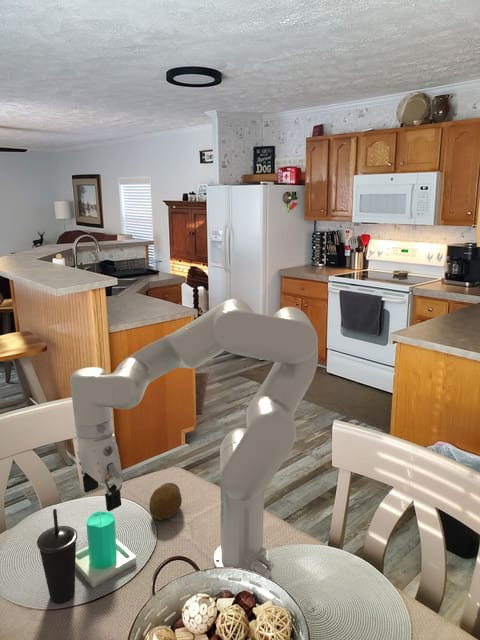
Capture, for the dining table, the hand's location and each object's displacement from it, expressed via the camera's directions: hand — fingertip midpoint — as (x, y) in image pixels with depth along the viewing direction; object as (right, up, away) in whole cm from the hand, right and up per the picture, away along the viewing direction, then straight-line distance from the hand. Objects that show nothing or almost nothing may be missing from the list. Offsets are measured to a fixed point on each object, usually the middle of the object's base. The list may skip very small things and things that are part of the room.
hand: (102, 498), depth 111 cm
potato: (+11, -12, +22) cm, 27 cm away
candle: (-1, -15, +4) cm, 16 cm away
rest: (-1, -16, +4) cm, 16 cm away
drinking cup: (-7, -18, -5) cm, 20 cm away
